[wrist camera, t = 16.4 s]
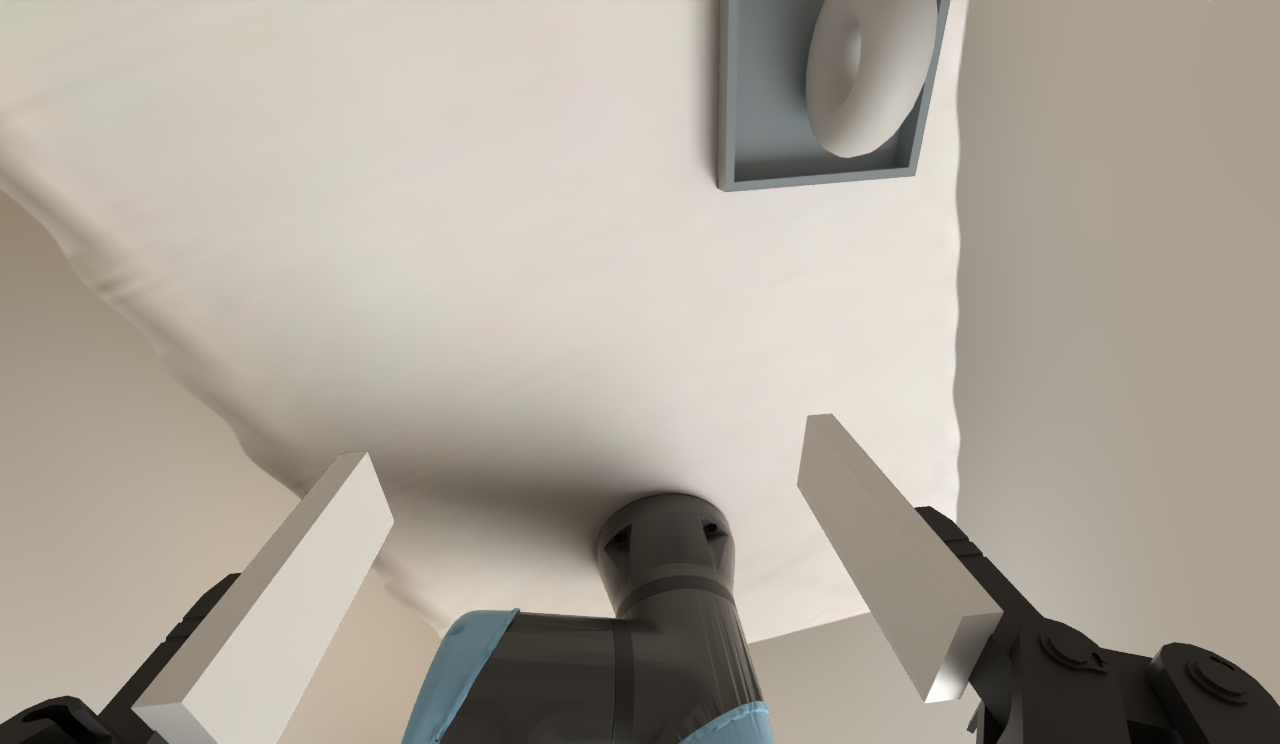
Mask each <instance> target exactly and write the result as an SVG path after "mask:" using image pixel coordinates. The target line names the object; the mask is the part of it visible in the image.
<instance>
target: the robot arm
mask: <svg viewBox="0 0 1280 744" xmlns="http://www.w3.org/2000/svg"><path fill="white" fill-rule="evenodd" d="M797 486H798V488H799V490H800V491H801V493H802V495H803V496H804V498H805V500H806V501H807V503H808V505H809V507H810V508H811V510H812V512H813V513H814V515H815V517H816V519H817V520H818V522H819V524H820V525H821V527H822V529H823V531H824V532H825V534H826V536H827V537H828V539H829V541H830V542H831V544H832V546H833V548H834V549H835V551H836V553H837V554H838V556H839V558H840V560H841V561H842V563H843V565H844V566H845V568H846V570H847V571H848V573H849V575H850V577H851V578H852V580H853V582H854V583H855V585H856V587H857V589H858V590H859V592H860V594H861V595H862V597H863V599H864V601H865V602H866V604H867V606H868V607H869V609H870V611H871V612H872V614H873V616H874V617H875V619H876V621H877V623H878V624H879V626H880V628H881V630H882V631H883V633H884V635H885V636H886V638H887V640H888V641H889V643H890V645H891V646H892V648H893V650H894V652H895V653H896V655H897V657H898V659H899V660H900V662H901V664H902V665H903V667H904V669H905V670H906V672H907V674H908V676H909V677H910V679H911V681H912V682H913V684H914V686H915V687H916V689H917V691H918V692H919V694H920V696H921V698H922V700H923V701H924V703H929V702H936V701H945V700H954V699H960V698H961V696H962V694H963V692H964V690H965V688H966V686H967V684H968V682H970V683H971V685H972V686H973V688H974V689H975V691H976V692H977V694H978V695H979V697H980V698H981V699H982V700H981V702H980V704H979V705H978V708H977V709H976V711H975V713H974V715H973V716H972V718H971V720H970V722H969V725H968V728H967V731H969V732H971V733H974V731H975V730H976V728H977V738H976V744H1280V706H1279V705H1278V704H1277V703H1276V701H1275V700H1274V699H1273V697H1272V696H1271V695H1270V694H1269V693H1268V692H1267V691H1266V690H1265V689H1264V688H1263V687H1262V686H1261V685H1260V684H1259V682H1258V681H1257V680H1255V679H1254V678H1253V677H1252V676H1250V675H1249V674H1247V673H1246V672H1245V671H1243V670H1242V669H1241V668H1239V667H1238V666H1236V665H1235V664H1233V663H1232V662H1230V661H1228V660H1226V659H1224V658H1222V657H1221V656H1219V655H1217V654H1215V653H1213V652H1211V651H1208V650H1205V649H1202V648H1200V647H1197V646H1194V645H1191V644H1183V643H1176V642H1174V643H1171V644H1167V645H1164V646H1163V647H1162V648H1161V649H1160V650H1159V652H1158V653H1157V654H1156V655H1155V657H1154V658H1150V657H1145V656H1140V655H1134V654H1129V653H1124V652H1118V651H1114V650H1109V649H1103V648H1100V647H1099V646H1098V645H1097V644H1096V643H1094V642H1093V641H1092V640H1090V639H1089V638H1088V637H1086V636H1085V635H1084V634H1083V633H1081V632H1080V631H1077V630H1076V629H1073V628H1072V627H1070V626H1068V625H1066V624H1064V623H1061V622H1058V621H1054V620H1051V619H1047V618H1044V617H1043V616H1042V615H1041V614H1040V613H1039V612H1038V611H1037V610H1036V609H1035V608H1034V607H1033V606H1032V605H1031V604H1030V603H1029V602H1028V601H1027V600H1026V599H1025V598H1024V596H1022V595H1021V593H1020V592H1019V591H1018V590H1017V589H1016V588H1015V587H1014V586H1013V585H1012V584H1011V583H1010V582H1009V581H1008V579H1007V578H1006V577H1005V576H1004V575H1003V574H1002V573H1001V572H1000V571H999V570H998V569H997V568H996V567H995V566H994V565H993V564H992V562H991V561H990V560H989V559H988V558H987V557H983V553H982V552H981V551H980V550H979V549H978V548H977V546H976V545H975V544H974V543H973V542H970V541H969V538H968V537H967V536H966V535H965V534H964V533H963V532H962V531H961V530H960V528H959V527H958V526H957V525H956V524H955V523H954V522H953V521H952V520H950V519H949V518H947V517H946V516H944V515H943V514H941V513H940V512H938V511H937V510H935V509H934V508H932V507H930V506H927V507H916V508H913V507H912V505H911V504H910V503H909V502H908V501H907V500H906V498H905V497H904V496H903V495H902V494H901V493H900V492H899V490H898V489H897V488H896V487H895V486H894V485H893V484H892V482H891V481H890V480H889V479H888V478H887V477H886V475H885V474H884V473H883V472H882V471H881V470H880V469H879V467H878V466H877V465H876V464H875V463H874V462H873V460H872V459H871V458H870V457H869V456H868V455H867V454H866V452H865V451H864V450H863V449H862V448H861V447H860V446H859V444H858V443H857V442H856V441H855V440H854V439H853V437H852V436H851V435H850V434H849V433H848V432H847V431H846V429H845V428H844V427H843V426H842V425H841V424H840V423H839V421H838V420H837V419H836V418H835V417H834V416H833V414H821V415H809V416H807V423H806V429H805V436H804V442H803V449H802V455H801V462H800V469H799V475H798V482H797ZM394 522H395V521H394V519H393V516H392V514H391V511H390V508H389V506H388V503H387V501H386V498H385V495H384V493H383V490H382V488H381V485H380V482H379V480H378V477H377V475H376V472H375V469H374V467H373V464H372V462H371V459H370V456H369V454H368V451H366V452H354V453H342V454H340V455H339V456H338V457H337V458H336V459H335V461H334V462H333V463H332V464H331V465H330V467H329V468H328V469H327V470H326V472H325V473H324V474H323V475H322V476H321V478H320V479H319V480H318V481H317V482H316V484H315V485H314V486H313V487H312V489H311V490H310V491H309V492H308V493H307V495H306V496H305V497H304V498H303V499H302V501H301V502H300V503H299V504H298V506H297V507H296V508H295V509H294V511H293V512H292V513H291V514H290V515H289V517H288V518H287V519H286V520H285V521H284V523H283V524H282V525H281V526H280V527H279V529H278V530H277V531H276V532H275V533H274V535H273V536H272V537H271V538H270V540H269V541H268V542H267V543H266V544H265V546H264V547H263V548H262V549H261V550H260V552H259V553H258V554H257V555H256V557H255V558H254V559H253V560H252V561H251V563H250V564H249V565H248V566H247V567H246V569H245V570H244V571H243V572H242V573H235V574H229V575H228V576H227V577H225V578H224V579H223V580H222V581H220V582H219V583H218V584H216V585H215V586H214V587H213V588H211V589H210V590H209V591H207V592H206V593H205V594H204V595H203V596H202V597H201V598H200V599H199V600H198V601H197V602H196V604H195V605H194V606H193V607H192V608H191V609H190V611H189V612H188V613H187V614H186V615H185V616H184V617H183V621H182V622H181V623H178V624H177V626H176V627H175V628H174V629H173V630H172V631H171V632H170V634H169V635H168V636H167V637H166V641H165V642H164V643H161V644H160V645H159V646H158V647H157V648H156V650H155V651H154V652H153V653H152V654H151V655H150V657H149V658H148V659H147V660H146V661H145V662H144V663H143V664H142V666H141V667H140V668H139V669H138V670H137V672H136V673H135V674H134V675H133V676H132V677H131V678H130V679H129V681H128V682H127V683H126V684H125V686H123V687H122V689H121V690H120V691H119V692H118V693H117V694H116V696H115V697H114V698H113V699H112V700H111V701H110V702H109V704H108V705H107V706H106V707H105V708H104V709H103V710H102V712H101V713H100V714H99V715H98V716H97V715H96V714H95V713H94V712H93V711H92V710H91V709H90V708H89V707H88V706H86V704H84V703H83V702H82V701H81V700H80V699H79V698H75V697H71V696H63V697H58V698H53V699H48V700H46V701H44V702H41V703H39V704H37V705H34V706H32V707H30V708H27V709H25V710H23V711H22V712H20V713H18V714H17V715H15V716H14V717H12V718H10V719H9V720H7V721H5V722H4V723H2V724H0V744H276V743H277V742H278V740H279V738H280V736H281V734H282V732H283V730H284V728H285V726H286V725H287V723H288V721H289V719H290V717H291V715H292V713H293V711H294V710H295V708H296V706H297V704H298V702H299V700H300V698H301V696H302V695H303V693H304V691H305V689H306V687H307V685H308V683H309V681H310V679H311V678H312V676H313V674H314V672H315V670H316V668H317V666H318V665H319V663H320V661H321V659H322V657H323V655H324V653H325V651H326V649H327V648H328V646H329V644H330V642H331V640H332V638H333V636H334V634H335V633H336V630H337V629H338V627H339V625H340V623H341V621H342V619H343V617H344V616H345V614H346V612H347V610H348V608H349V606H350V604H351V602H352V601H353V599H354V597H355V595H356V593H357V591H358V589H359V587H360V586H361V584H362V582H363V580H364V578H365V576H366V574H367V572H368V571H369V569H370V567H371V565H372V563H373V561H374V559H375V557H376V556H377V554H378V552H379V550H380V548H381V546H382V544H383V542H384V541H385V539H386V537H387V535H388V533H389V531H390V529H391V527H392V526H393V524H394ZM597 563H598V569H599V574H600V576H601V579H602V582H603V584H604V587H605V589H606V592H607V594H608V597H609V599H610V602H611V605H612V607H613V610H614V612H615V616H616V619H614V618H604V617H589V616H574V615H559V614H544V613H529V612H520V609H519V608H515V609H513V610H511V611H493V610H476V611H471V612H468V613H466V614H464V615H462V616H461V617H460V618H459V619H457V620H456V621H455V622H454V624H453V625H452V626H451V627H450V629H449V630H448V632H447V633H446V635H445V637H444V639H443V641H442V642H441V644H440V646H439V648H438V651H437V653H436V655H435V657H434V659H433V661H432V664H431V666H430V668H429V671H428V673H427V675H426V678H425V680H424V683H423V685H422V688H421V690H420V692H419V695H418V697H417V700H416V703H415V705H414V708H413V711H412V714H411V716H410V719H409V722H408V725H407V728H406V730H405V733H404V737H403V739H402V743H401V744H774V740H773V735H772V730H771V726H770V721H769V710H768V707H767V704H766V703H764V700H763V696H762V693H761V689H760V686H759V683H758V679H757V676H756V673H755V669H754V666H753V663H752V659H751V656H750V653H749V649H748V646H747V642H746V639H745V636H744V632H743V629H742V626H741V622H740V619H739V615H738V612H737V609H736V606H735V602H734V598H733V583H734V565H735V545H734V540H733V537H732V534H731V531H730V528H729V525H728V522H727V520H726V519H725V517H724V516H723V514H722V513H721V512H720V511H719V510H718V509H717V508H715V507H714V506H713V505H711V504H709V503H708V502H706V501H703V500H701V499H698V498H695V497H691V496H686V495H678V494H666V495H657V496H651V497H647V498H644V499H641V500H638V501H635V502H633V503H631V504H629V505H627V506H625V507H624V508H622V509H621V510H619V511H618V512H617V513H615V514H614V515H613V516H612V517H611V518H610V519H609V520H608V521H607V523H606V524H605V526H604V527H603V529H602V531H601V533H600V535H599V539H598V545H597Z"/></svg>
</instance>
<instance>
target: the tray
mask: <svg viewBox="0 0 1280 744" xmlns="http://www.w3.org/2000/svg"><path fill="white" fill-rule="evenodd" d="M824 1H825V0H720V2H719V94H718V185H717V188H718V189H720V190H722V191H724V192H733V191H745V190H757V189H769V188H780V187H792V186H804V185H815V184H827V183H839V182H851V181H862V180H874V179H886V178H898V177H909V176H915V174H916V169H917V164H918V159H919V154H920V149H921V144H922V139H923V134H924V129H925V124H926V119H927V114H928V109H929V104H930V99H931V94H932V89H933V84H934V80H935V75H936V70H937V65H938V60H939V55H940V50H941V45H942V40H943V35H944V30H945V25H946V20H947V15H948V10H949V5H950V0H937V12H938V18H937V27H936V36H935V45H934V51H933V54H932V58H931V61H930V65H929V69H928V72H927V76H926V79H925V82H924V84H923V86H922V89H921V91H920V93H919V95H918V97H917V100H916V102H915V104H914V106H913V108H912V110H911V111H910V113H909V114H908V116H907V117H906V118H905V120H904V121H903V123H902V124H901V125H900V127H899V128H898V130H897V131H896V132H895V133H894V135H893V136H892V137H890V138H889V139H888V140H887V141H885V142H884V143H883V144H882V145H881V146H879V147H878V148H877V149H875V150H874V151H872V152H871V153H867V154H863V155H859V156H854V157H850V158H844V157H839V156H837V155H835V154H833V153H831V152H829V151H827V150H825V149H824V148H823V147H822V146H821V144H820V143H819V141H818V140H817V138H816V137H815V135H814V134H813V132H812V129H811V125H810V122H809V118H808V113H807V103H806V70H807V63H808V55H809V49H810V45H811V41H812V37H813V33H814V29H815V25H816V22H817V20H818V17H819V14H820V12H821V9H822V6H823V4H824Z"/></svg>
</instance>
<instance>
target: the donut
mask: <svg viewBox="0 0 1280 744" xmlns="http://www.w3.org/2000/svg"><path fill="white" fill-rule="evenodd" d="M937 18H938V12H937V0H825V1H824V4H823V6H822V9H821V12H820V14H819V17H818V20H817V22H816V25H815V29H814V33H813V37H812V41H811V45H810V49H809V55H808V63H807V70H806V103H807V113H808V118H809V122H810V125H811V129H812V132H813V134H814V135H815V137H816V138H817V140H818V141H819V143H820V144H821V146H822V147H823V148H824V149H825V150H827V151H829V152H831V153H833V154H835V155H837V156H839V157H844V158H850V157H854V156H859V155H863V154H867V153H871V152H872V151H874V150H875V149H877V148H878V147H879V146H881V145H882V144H883V143H884V142H885V141H887V140H888V139H889V138H890V137H892V136H893V135H894V133H895V132H896V131H897V130H898V128H899V127H900V125H901V124H902V123H903V121H904V120H905V118H906V117H907V116H908V114H909V113H910V111H911V110H912V108H913V106H914V104H915V102H916V100H917V97H918V95H919V93H920V91H921V89H922V86H923V84H924V82H925V79H926V76H927V72H928V69H929V65H930V61H931V58H932V54H933V51H934V45H935V36H936V27H937Z"/></svg>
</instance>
